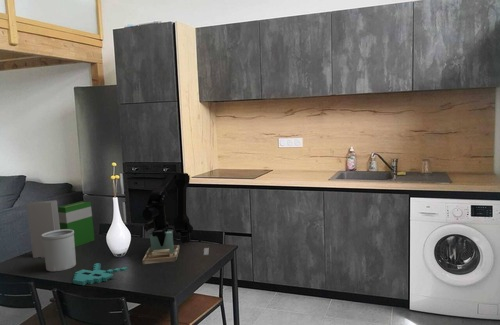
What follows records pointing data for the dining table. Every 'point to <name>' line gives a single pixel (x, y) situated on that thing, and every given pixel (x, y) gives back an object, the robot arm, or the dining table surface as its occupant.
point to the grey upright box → (41, 223)
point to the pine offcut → (161, 252)
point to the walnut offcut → (158, 256)
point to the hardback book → (77, 221)
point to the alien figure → (94, 275)
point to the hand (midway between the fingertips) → (162, 245)
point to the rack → (159, 260)
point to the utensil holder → (59, 249)
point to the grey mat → (206, 251)
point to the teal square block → (167, 242)
